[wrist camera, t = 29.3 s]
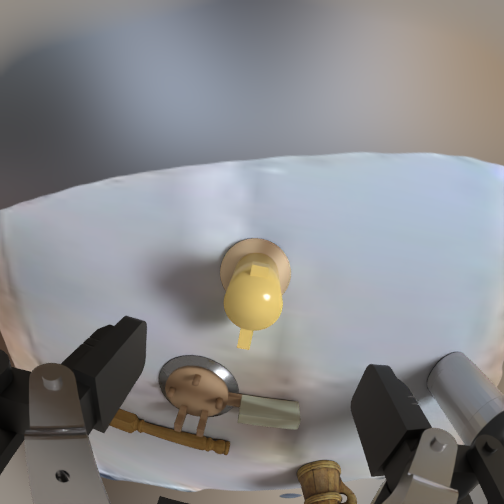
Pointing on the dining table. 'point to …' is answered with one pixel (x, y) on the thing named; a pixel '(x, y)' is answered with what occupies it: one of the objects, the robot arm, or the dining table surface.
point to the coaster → (255, 247)
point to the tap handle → (167, 433)
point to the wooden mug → (323, 483)
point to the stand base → (202, 362)
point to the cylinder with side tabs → (253, 296)
